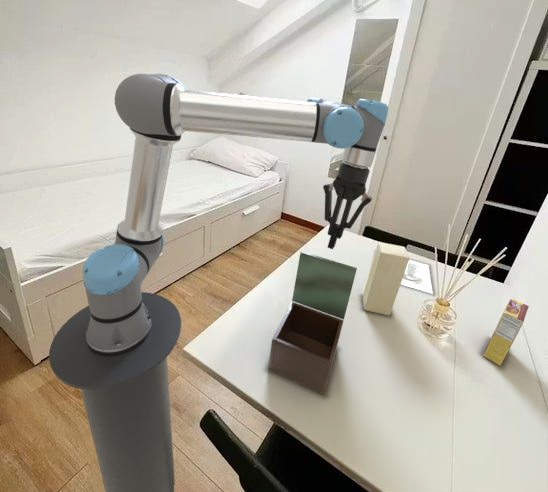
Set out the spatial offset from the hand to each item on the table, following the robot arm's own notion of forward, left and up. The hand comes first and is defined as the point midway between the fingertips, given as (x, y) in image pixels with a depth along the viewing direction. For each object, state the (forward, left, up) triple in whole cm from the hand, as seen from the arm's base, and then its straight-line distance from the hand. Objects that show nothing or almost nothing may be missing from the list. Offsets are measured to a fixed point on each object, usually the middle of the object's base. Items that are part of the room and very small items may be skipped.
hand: (331, 246), depth 81 cm
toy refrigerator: (+16, +10, -22) cm, 29 cm away
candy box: (+48, +7, -22) cm, 53 cm away
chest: (+1, -20, -22) cm, 29 cm away
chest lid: (+1, -13, -4) cm, 14 cm away
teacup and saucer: (+24, +36, -22) cm, 48 cm away
